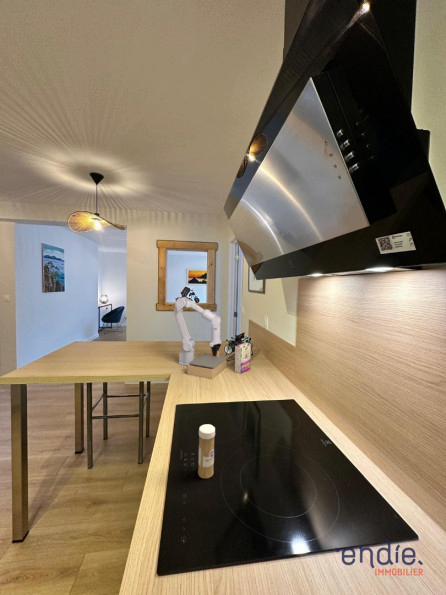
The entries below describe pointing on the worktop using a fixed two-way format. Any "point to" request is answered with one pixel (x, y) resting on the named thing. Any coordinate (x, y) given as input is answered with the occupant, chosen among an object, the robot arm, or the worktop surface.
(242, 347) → the candy bar box
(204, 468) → the sprinkles bottle
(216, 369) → the carton
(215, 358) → the carton lid
